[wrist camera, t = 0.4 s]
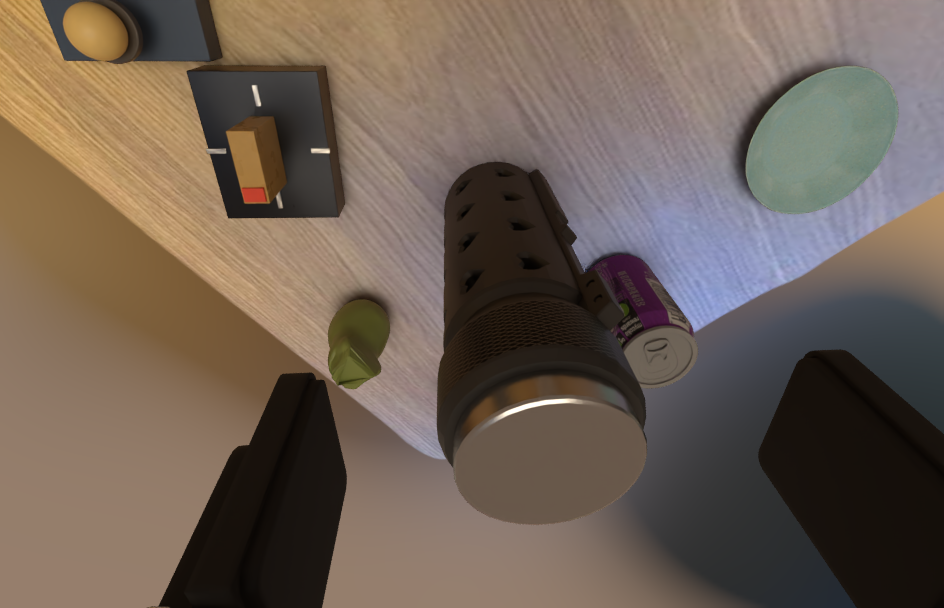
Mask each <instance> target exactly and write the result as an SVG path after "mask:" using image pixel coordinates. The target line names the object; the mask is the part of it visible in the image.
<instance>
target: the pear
mask: <svg viewBox="0 0 944 608" xmlns="http://www.w3.org/2000/svg"><path fill="white" fill-rule="evenodd" d="M389 333H390V322H389V319H388V316H387V314H386V313H385V311H384V310H383V309H382V308H381V307H380V306H379V305H378V304H376V303H374V302H372V301H369V300H363V299H361V300H355V301H352V302H349V303H347V304H346V305H344V306H343V307H342V308H341V309H340V310H339V311H338V312H337V313H336V315H335V316H334V318H333V319H332V321H331V323H330V326H329V330H328V342H329V347H330V351H329V355H328V366H329V371H330V373H331V375H332V379H333V380H334V381H335V382H336V384H337V386H338V385H343V386H344V387H345V388H348V389H356V388H358V387H359V386H360V385H361V384H363V383H364V382H366V381H367V380H369V379H370V378H373V377H374V376H377V375H378V374H380V372H381V365H380V363H379V361H378V358H379V356H380V355H381V353H382V352H383V350H384V348H385V345H386V343H387V340H388V337H389Z"/></svg>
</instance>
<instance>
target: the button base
mask: <svg viewBox="0 0 944 608" xmlns="http://www.w3.org/2000/svg"><path fill="white" fill-rule="evenodd" d="M40 1H41V3H42V6H43V8H44V11H45V13H46V16H47V18H48V21H49V23H50V26H51V28H52V30H53V33H54V35H55V38H56V40H57V43H58V45H59V48H60V50H61V53H62V55H63V58H64V60H66V61H101V60H96V59H93V58H90V57H88V56H86V55H84V54H83V53H81V52H80V51H78V50H77V49H76V48H75V47H74V46H73V45H72V44H71V42H70V41H69V39H68V38H67V36H66V34H65V31H64V27H63V18H64V15H65V12H66V11H67V9H68V8H69V7H70V6H72V5H74V4H76V3H78V2H79V1H80V0H40ZM116 1H118V2H120V3H121V4H122V5H124V6H125V7H126V8H127V9H128V10H129V11H130V12H131V13H132V14H133V16H134V17H135V18H136V20H137V22H138V24H139V26H140V28H141V31H142V35H143V47H142V51H141V53H140V54H139V56H138V57H137V58H136V59H135V60H133V61H213V60H216V59H220V58H222V55H221V50H220V46H219V42H218V38H217V34H216V30H215V26H214V22H213V18H212V14H211V9H210V5H209V1H208V0H116Z"/></svg>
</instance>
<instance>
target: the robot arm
mask: <svg viewBox="0 0 944 608" xmlns="http://www.w3.org/2000/svg"><path fill="white" fill-rule="evenodd" d="M758 455H759V456H758V457H759V462H760V465H761V467H762V469H763V471H764V472H765V473H766V475H767V476H768V478H769V479H770V481H771V482H772V484H773V485H774V487H775V488H776V489H777V491H778V493H779V494H780V495H781V497H782V498H783V500H784V501H785V503H786V504H787V506H788V507H789V509H790V510H791V512H792V513H793V515H794V516H795V517H796V519H797V521H798V522H799V523H800V525H801V526H802V528H803V529H804V531H805V532H806V534H807V535H808V537H809V538H810V540H811V541H812V543H813V544H814V546H815V547H816V548H817V550H818V551H819V553H820V554H821V556H822V557H823V559H824V560H825V562H826V563H827V565H828V566H829V568H830V569H831V571H832V572H833V573H834V575H835V576H836V578H837V579H838V581H839V582H840V584H841V585H842V587H843V588H844V589H845V591H846V592H847V594H848V595H849V597H850V598H851V600H852V601H853V603H854V604H855V606H856V607H857V608H944V434H943V433H942V432H941V431H940V430H938V429H937V428H936V427H935V426H934V425H933V424H931V423H930V422H929V421H928V420H927V419H926V418H924V417H923V416H922V415H921V414H920V413H919V412H918V411H916V410H915V409H914V408H913V407H912V406H911V405H910V404H908V403H907V402H906V401H905V400H904V399H903V398H901V397H900V396H899V395H898V394H897V393H896V392H895V391H893V390H892V389H891V388H890V387H889V386H888V385H886V384H885V383H884V382H883V381H882V380H881V379H879V378H878V377H877V376H876V375H875V374H874V373H873V372H871V371H870V370H869V369H868V368H867V367H866V366H865V365H863V364H862V363H861V362H860V361H859V360H857V359H856V358H855V357H854V356H853V355H852V354H850V353H849V352H847V351H845V350H820V351H819V350H818V351H810V352H809V353H807V354H806V355H805V356H804V358H803V359H801V360H799V361H798V363H797V364H796V367H795V369H794V371H793V373H792V375H791V378H790V380H789V382H788V385H787V387H786V389H785V392H784V394H783V396H782V398H781V401H780V403H779V405H778V408H777V410H776V412H775V414H774V417H773V419H772V421H771V424H770V426H769V428H768V431H767V433H766V435H765V437H764V440H763V442H762V444H761V447H760V449H759V454H758ZM346 484H347V475H346V469H345V464H344V460H343V456H342V452H341V448H340V443H339V439H338V434H337V430H336V426H335V421H334V417H333V413H332V409H331V404H330V400H329V396H328V392H327V387H326V384H325V381H324V380H316V378H315V376H314V374H313V373H293V374H282V375H280V377H279V379H278V381H277V383H276V385H275V387H274V390H273V392H272V394H271V396H270V399H269V401H268V403H267V406H266V408H265V410H264V412H263V415H262V417H261V419H260V421H259V424H258V426H257V428H256V430H255V433H254V435H253V437H252V440H251V442H250V444H249V445H245V446H238V447H237V448H236V449H235V450H234V451H233V452H232V454H231V455H230V457H229V459H228V461H227V463H226V465H225V467H224V469H223V471H222V474H221V476H220V478H219V480H218V482H217V484H216V486H215V488H214V490H213V493H212V495H211V497H210V499H209V501H208V503H207V505H206V507H205V510H204V511H203V514H202V516H201V518H200V520H199V522H198V524H197V526H196V528H195V530H194V532H193V535H192V537H191V539H190V541H189V543H188V545H187V547H186V549H185V552H184V554H183V556H182V558H181V560H180V562H179V564H178V566H177V568H176V571H175V573H174V575H173V577H172V579H171V581H170V583H169V585H168V588H167V589H166V592H165V594H164V596H163V598H162V600H161V602H160V604H159V606H158V607H153V606H152V607H148V608H322V605H323V600H324V594H325V590H326V584H327V580H328V575H329V570H330V565H331V560H332V555H333V551H334V545H335V541H336V536H337V531H338V525H339V521H340V516H341V511H342V506H343V501H344V496H345V492H346Z"/></svg>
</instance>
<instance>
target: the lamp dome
mask: <svg viewBox="0 0 944 608" xmlns="http://www.w3.org/2000/svg"><path fill="white" fill-rule="evenodd" d="M63 27H64V31H65V34H66V36H67V38H68V39H69V41H70V42H71V44H72V45H73V46H74V47H75V48H76V49H77V50H78V51H80V52H81V53H83V54H84V55H86V56H88V57H90V58H93V59H96V60H101V61H107V62H110V63H114V64H123V63H127V62H131V61H133V60H135V59H136V58H137V57H138V56H139V54H140V53H141V51H142V47H143V35H142V31H141V28H140V26H139V24H138V22H137V20H136V18H135V17H134V16H133V14H132V13H131V12H130V11H129V10H128V9H127V8H126V7H125V6H124V5H122V4H121V3H120V2H118V1H116V0H80V1H79V2H78V3H76V4H74V5H72V6H70V7H69V8H68V9H67V11H66V12H65V15H64V18H63Z"/></svg>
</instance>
